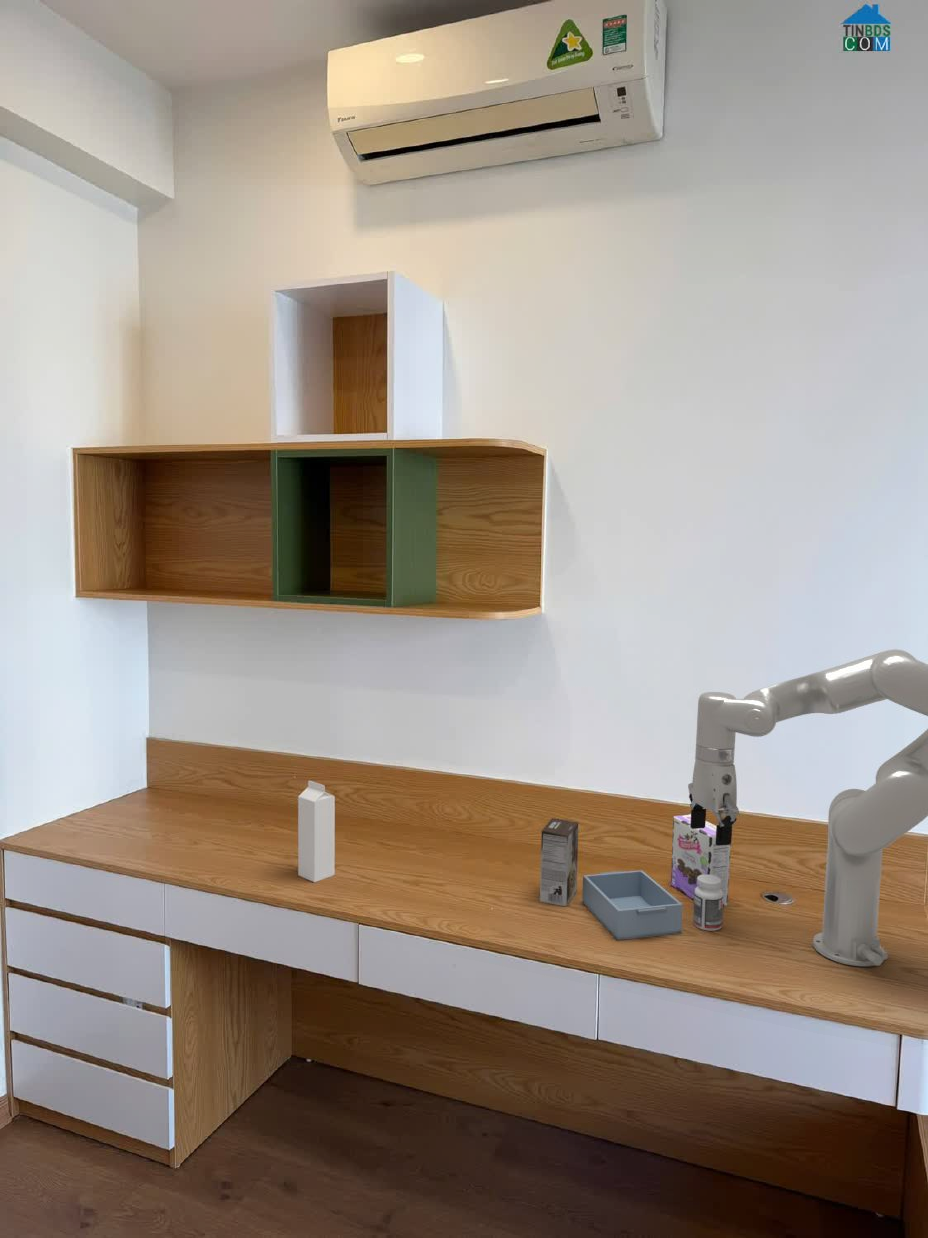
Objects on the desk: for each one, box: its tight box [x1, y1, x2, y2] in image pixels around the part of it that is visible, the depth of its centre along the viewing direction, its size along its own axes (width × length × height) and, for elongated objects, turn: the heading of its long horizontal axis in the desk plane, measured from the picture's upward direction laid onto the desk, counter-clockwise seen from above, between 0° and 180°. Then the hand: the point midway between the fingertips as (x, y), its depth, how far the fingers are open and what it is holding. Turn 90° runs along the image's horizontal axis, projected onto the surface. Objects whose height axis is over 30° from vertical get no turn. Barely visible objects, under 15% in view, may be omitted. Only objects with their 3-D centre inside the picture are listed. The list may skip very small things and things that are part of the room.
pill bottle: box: [692, 874, 724, 932], centre depth 173 cm, size 6×6×10 cm
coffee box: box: [539, 817, 579, 907], centre depth 186 cm, size 9×6×16 cm
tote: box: [581, 870, 684, 941], centre depth 176 cm, size 20×14×6 cm
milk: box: [297, 780, 336, 883], centre depth 195 cm, size 6×6×22 cm
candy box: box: [670, 813, 732, 907], centre depth 188 cm, size 14×6×16 cm, turn 21°
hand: (710, 836), depth 172 cm, fingers open, 9 cm apart
